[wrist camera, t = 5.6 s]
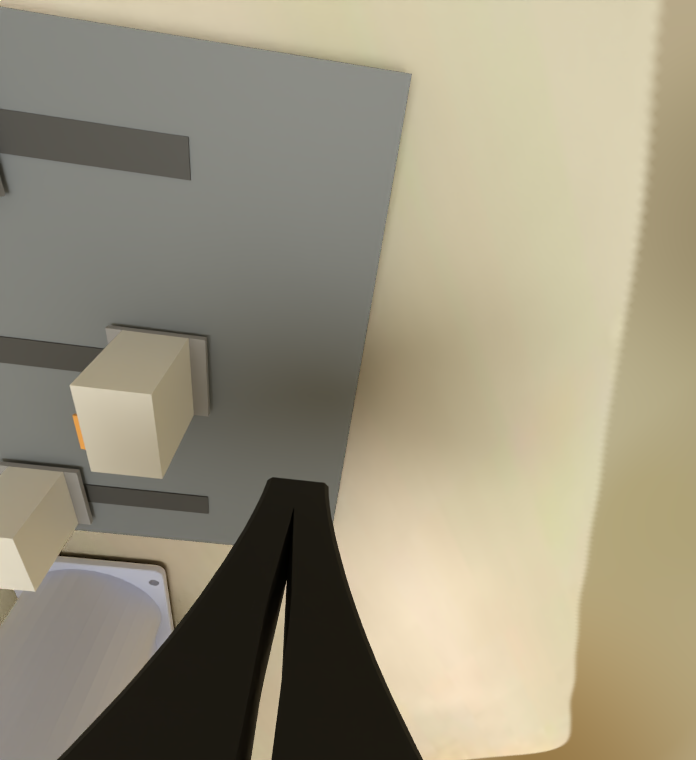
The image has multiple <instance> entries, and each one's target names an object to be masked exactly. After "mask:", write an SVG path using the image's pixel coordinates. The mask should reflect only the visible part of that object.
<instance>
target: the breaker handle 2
mask: <svg viewBox="0 0 696 760" xmlns="http://www.w3.org/2000/svg"><path fill="white" fill-rule="evenodd" d="M92 522H93V519H92V515H91V511H90V507H89V504H88V500H87V496H86V493H85V489H84V485H83V481H82V478H81V474H80V470H78V469H69V468H59V467H50V466H40V465H31V464H21V463H11V462H2V461H0V589H11V590H23V591H34V592H36V590H37V588H38V587H39V585H40V584H41V582H42V580H43V579H44V577H45V576H46V574H47V573H48V571H49V569H50V568H51V566H52V565H53V563H54V561H55V560H56V558H57V557H58V555H59V554H60V552H61V550H62V549H63V547H64V546H65V544H66V542H67V541H68V539H69V538H70V536H71V535H72V533H73V531H74V530H75V528H76V527H77V525H78V524H88V525H91V524H92Z"/></svg>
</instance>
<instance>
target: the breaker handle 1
mask: <svg viewBox="0 0 696 760" xmlns="http://www.w3.org/2000/svg"><path fill="white" fill-rule="evenodd" d="M2 196H5V192H4V188H3V185H2V181H1V177H0V197H2Z"/></svg>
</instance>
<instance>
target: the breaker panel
mask: <svg viewBox="0 0 696 760" xmlns="http://www.w3.org/2000/svg"><path fill="white" fill-rule="evenodd" d="M411 75H412V74H409V73H403V72H397V71H391V70H384V69H378V68H372V67H366V66H360V65H354V64H348V63H342V62H335V61H329V60H323V59H317V58H311V57H305V56H299V55H293V54H287V53H280V52H274V51H268V50H262V49H256V48H250V47H244V46H238V45H231V44H225V43H219V42H213V41H207V40H201V39H195V38H189V37H182V36H176V35H170V34H164V33H158V32H152V31H146V30H140V29H133V28H127V27H121V26H115V25H109V24H103V23H97V22H91V21H85V20H78V19H72V18H66V17H60V16H54V15H48V14H42V13H36V12H29V11H23V10H17V9H11V8H5V7H0V177H1V181H2V185H3V188H4V192H5V196H2V197H0V461H2V462H11V463H21V464H31V465H40V466H50V467H59V468H69V469H78V470H80V474H81V478H82V481H83V485H84V489H85V493H86V496H87V500H88V504H89V507H90V511H91V515H92V519H93V522H92V524H91V525H88V524H78V525H77V527H76V528H75V530H82V531H92V532H102V533H113V534H123V535H133V536H144V537H154V538H165V539H175V540H185V541H196V542H206V543H216V544H227V545H234V544H235V542H236V541H237V539H238V537H239V536H240V534H241V532H242V531H243V529H244V528H245V526H246V524H247V522H248V520H249V518H250V517H251V515H252V513H253V511H254V509H255V507H256V505H257V503H258V501H259V499H260V497H261V495H262V492H263V490H264V488H265V485H266V482H267V480H268V479H270V478H272V477H277V478H286V479H295V480H304V481H314V482H323V483H325V484H326V485H327V486H328V487H329V502H330V510H331V517H332V522H333V520H334V514H335V508H336V503H337V497H338V491H339V486H340V480H341V474H342V468H343V463H344V457H345V451H346V446H347V440H348V434H349V429H350V423H351V417H352V411H353V406H354V400H355V394H356V389H357V383H358V377H359V372H360V366H361V360H362V354H363V349H364V343H365V337H366V332H367V326H368V320H369V315H370V309H371V303H372V297H373V292H374V286H375V280H376V275H377V269H378V263H379V258H380V252H381V246H382V240H383V235H384V229H385V223H386V218H387V212H388V206H389V201H390V195H391V189H392V183H393V178H394V172H395V166H396V161H397V155H398V149H399V144H400V138H401V132H402V127H403V121H404V115H405V109H406V104H407V98H408V92H409V87H410V81H411ZM108 325H112V326H120V327H128V328H136V329H144V330H153V331H161V332H169V333H177V334H185V335H193V336H201V337H207V353H208V376H209V399H210V414H209V417H208V416H199V415H194V416H193V418H192V420H191V422H190V424H189V426H188V428H187V430H186V432H185V434H184V436H183V438H182V440H181V442H180V444H179V446H178V448H177V450H176V452H175V454H174V456H173V458H172V460H171V463H170V465H169V467H168V469H167V471H166V473H165V475H164V477H163V479H158V478H148V477H139V476H129V475H120V474H110V473H100V472H91V469H90V465H89V461H88V457H87V453H86V449H85V445H84V441H83V437H82V433H81V429H80V425H79V421H78V417H77V413H76V409H75V405H74V401H73V397H72V393H71V389H70V384H71V383H72V382H73V381H74V380H75V379H76V378H77V377H78V376H79V375H80V374H81V373H82V372H83V370H84V369H85V368H86V367H87V366H88V365H89V364H90V363H91V362H92V361H93V360H94V359H95V358H96V357H97V356H98V355H99V354H100V353H101V352H102V351H103V349H104V348H105V347H106V346H107V345H108V341H107V335H106V330H105V328H106V327H107V326H108Z"/></svg>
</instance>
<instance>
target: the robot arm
mask: <svg viewBox="0 0 696 760" xmlns="http://www.w3.org/2000/svg"><path fill="white" fill-rule="evenodd" d="M286 581H287V586H286V606H285V626H284V646H283V666H282V683H281V690H280V698H279V706H278V714H277V722H276V729H275V737H274V745H273V753H272V760H423V759H422V757H421V755H420V753H419V751H418V749H417V747H416V745H415V743H414V741H413V739H412V737H411V735H410V733H409V731H408V728H407V726H406V724H405V722H404V720H403V718H402V716H401V714H400V712H399V710H398V708H397V706H396V704H395V702H394V700H393V698H392V695H391V693H390V691H389V689H388V687H387V684H386V682H385V680H384V677H383V675H382V673H381V670H380V668H379V666H378V664H377V661H376V659H375V656H374V654H373V651H372V649H371V646H370V644H369V641H368V639H367V636H366V634H365V631H364V628H363V626H362V623H361V620H360V618H359V615H358V612H357V609H356V606H355V603H354V600H353V597H352V594H351V591H350V588H349V585H348V582H347V578H346V575H345V571H344V568H343V564H342V560H341V557H340V553H339V549H338V545H337V541H336V537H335V532H334V527H333V522H332V517H331V510H330V502H329V487H328V486H327V485H326V484H325V483H323V482H314V481H304V480H295V479H286V478H277V477H272V478H270V479H268V480H267V482H266V485H265V488H264V490H263V492H262V495H261V497H260V499H259V501H258V503H257V505H256V507H255V509H254V511H253V513H252V515H251V517H250V518H249V520H248V522H247V524H246V526H245V528H244V529H243V531H242V532H241V534H240V536H239V537H238V539H237V541H236V542H235V544H234V546H233V547H232V549H231V551H230V552H229V554H228V555H227V557H226V559H225V560H224V562H223V563H222V565H221V566H220V567H219V569H218V570H217V572H216V573H215V575H214V576H213V578H212V579H211V581H210V582H209V583H208V585H207V586H206V588H205V589H204V591H203V592H202V594H201V595H200V596H199V598H198V599H197V600H196V602H195V603H194V604H193V606H192V607H191V608H190V610H189V611H188V612H187V614H186V615H185V616H184V618H183V619H182V620H181V622H180V623H179V624H178V625H177V627H176V628H175V629H174V626H173V620H172V613H171V606H170V599H169V593H168V586H167V579H166V573H165V570H164V569H163V568H162V567H161V566H158V565H152V564H141V563H130V562H119V561H108V560H98V559H87V558H76V557H65V556H58V557H57V558H56V560H55V561H54V563H53V565H52V566H51V568H50V569H49V571H48V573H47V574H46V576H45V577H44V579H43V580H42V582H41V584H40V585H39V587H38V588H37V590H36V592H34V591H23V590H14V591H15V593H16V596H17V598H18V600H17V601H16V603H15V604H14V606H13V607H12V609H11V610H10V612H9V613H8V615H7V616H6V618H5V619H4V621H3V622H2V624H1V625H0V760H251V755H252V748H253V742H254V735H255V728H256V722H257V715H258V708H259V702H260V697H261V692H262V687H263V682H264V677H265V673H266V668H267V664H268V660H269V655H270V651H271V646H272V642H273V638H274V633H275V629H276V625H277V620H278V616H279V611H280V607H281V603H282V598H283V594H284V590H285V585H286Z"/></svg>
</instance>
